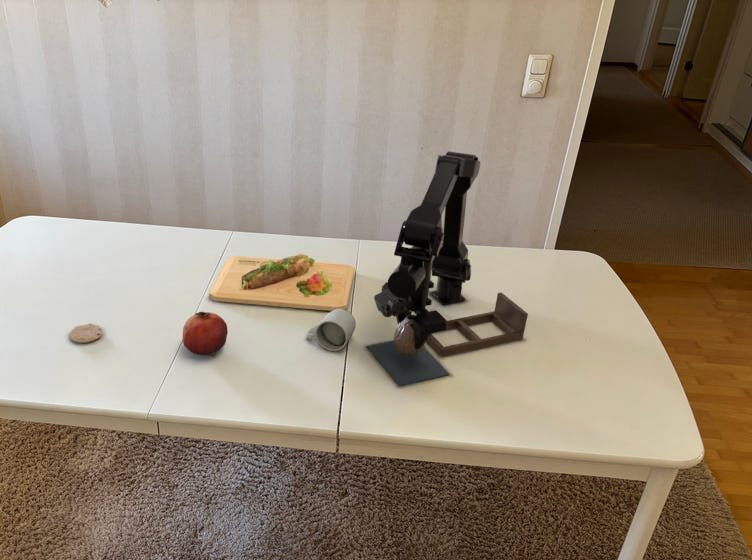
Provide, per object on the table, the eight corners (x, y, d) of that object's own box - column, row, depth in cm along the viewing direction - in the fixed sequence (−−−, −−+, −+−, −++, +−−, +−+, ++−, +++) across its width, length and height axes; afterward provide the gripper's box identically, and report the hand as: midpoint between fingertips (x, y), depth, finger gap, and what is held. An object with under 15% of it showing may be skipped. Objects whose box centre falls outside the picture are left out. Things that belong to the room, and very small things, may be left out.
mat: (366, 347, 166) (366, 345, 166) (413, 337, 169) (414, 336, 169) (399, 386, 153) (399, 384, 153) (449, 375, 157) (449, 373, 156)
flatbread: (100, 343, 168) (99, 339, 168) (67, 344, 168) (66, 341, 167) (104, 325, 175) (103, 321, 174) (72, 326, 174) (71, 322, 174)
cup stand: (418, 333, 171) (421, 307, 167) (496, 317, 176) (501, 292, 172) (441, 357, 162) (445, 330, 158) (522, 339, 168) (528, 313, 164)
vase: (423, 361, 157) (428, 327, 152) (391, 358, 158) (394, 324, 153) (424, 344, 162) (428, 310, 157) (393, 341, 163) (396, 307, 158)
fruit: (192, 368, 160) (189, 329, 154) (176, 346, 167) (172, 308, 161) (236, 355, 164) (234, 317, 158) (218, 334, 171) (216, 297, 165)
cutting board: (354, 270, 197) (356, 245, 193) (345, 313, 178) (347, 286, 174) (229, 261, 203) (228, 236, 199) (207, 302, 184) (205, 275, 180)
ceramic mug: (356, 336, 170) (358, 307, 165) (346, 354, 164) (347, 325, 159) (314, 328, 173) (314, 299, 169) (302, 345, 167) (302, 316, 163)
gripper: (361, 262, 155) (357, 325, 163) (402, 304, 140) (395, 370, 149) (408, 254, 157) (402, 316, 166) (453, 294, 143) (443, 359, 152)
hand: (409, 339), depth 158 cm, fingers closed on vase, 7 cm apart
